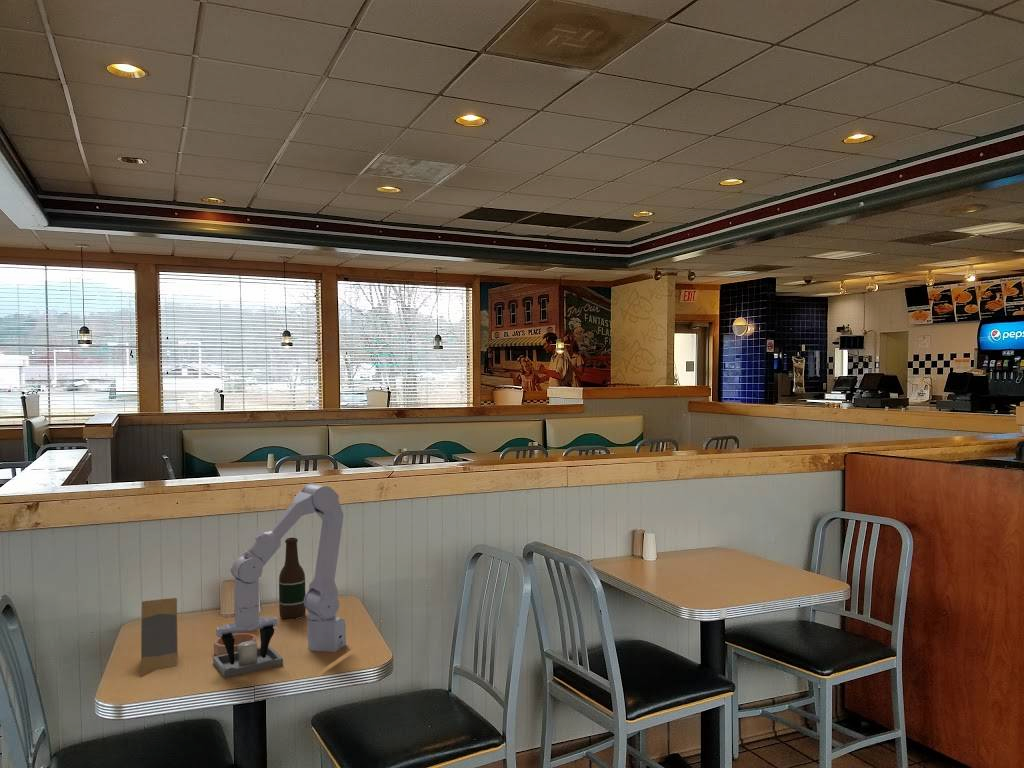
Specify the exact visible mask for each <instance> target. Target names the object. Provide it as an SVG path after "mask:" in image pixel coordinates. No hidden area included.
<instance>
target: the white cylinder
mask: <svg viewBox="0 0 1024 768" xmlns="http://www.w3.org/2000/svg"><path fill="white" fill-rule="evenodd" d="M257 648H258V641H257V642H255V641H246V642H242V643H240V644H238V666H239V667H240V666H245V665H250V664H255V663H257Z"/></svg>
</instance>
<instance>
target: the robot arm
mask: <svg viewBox="0 0 1024 768" xmlns="http://www.w3.org/2000/svg"><path fill="white" fill-rule="evenodd" d="M339 497H340V495H339V494H338V493H337V492H336V490H334V489H333V488H332V487H330V486H328V485H320V484H317V483H312V482H311V483H308V484H306V485H305V486H304V487H302V489H301V491H299V492H298V493H297V494H295V496H294V499H293V501H292V502H291V503H290V504H289V506H288V507H287V509H286V510H285V511H284V512H283V514H281V516H280V518H278V520H277V522H276V523H275V524H274V525H273V527H272V528H271V529H270V530H269V531H264V532H262V533H260V534H257V535H256V537H255V541H254V542H253V544H252V545H251V546H250V547H249V548H248V549H247V550H244V552H242V556H240V557H238V558H237V559H235V560H234V562H233V563H232V567H231V568H230V574H231V575H232V577H234V622H233V623H232V622H231V623H229V624H225V625H222V626H217V627H215V635H216V637H217V638H220V637H221V639H222V641H223V643H224V645H225V647H226V650H227V653H228V657H229V663H230V664H231V665H232V664H234V642H235V639H234V638H233V635H232V634H237V633H246V632H250V631H254V630H255V631H256V630H259V634H260V635H259V636H260V647H261V656H262V657H263V658H266V653H267V648H268V646H270V642H271V639H272V637H273V636H274V634H275V628H276V627H278V617H276V616H273V617H266V618H265V617H263V618H260V595H259V593H260V592H259V591H260V589H259V588H260V587H259V586H260V585H259V579H260V577H262V574H263V569H264V567H265V566H266V564H267V563H268V562H269V561H270V560H271V558H273V556H274V555H275V554H276V552H278V550H279V549H280V547H281V546H282V545H281V542H282V541H281V539H282V538H283V537H284V536H285V535H286V534H287V533H288V532H289V530H290V529H291V528H292V527H293V526H294V525H295V524H296V523H297V522H298V521H299V519H301V518H302V517H303V516H305V515H310V514H314V513H316V514H317V516H318V517H320V519H321V520H322V522H321V528H320V537H319V541H318V542H319V543H318V547H317V548H318V550H317V556H316V562H315V570H314V577H313V579H312V580H311V582H310V583H309V586H308V590H307V592H306V593H305V597H304V606H305V608H306V610H307V613H308V614H307V649H308V650H310V651H312V652H332V653H335V652H337V651H339V650H340V649H341V648H343V647H344V646H346V645H347V635H346V633H347V630H346V629H347V627H346V625H347V624H346V620H345V619H344V618H343V617H339V616H337V613H338V612H339V609H340V601H339V598H338V593H339V590H338V587H337V585H336V582H335V579H336V573H337V565H338V557H339V549H340V544H341V543H340V542H341V538H342V537H341V536H342V530H343V529H342V528H343V522H344V511H343V509H342V506H341V503H340V501H339Z"/></svg>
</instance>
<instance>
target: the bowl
mask: <svg viewBox="0 0 1024 768" xmlns="http://www.w3.org/2000/svg"><path fill="white" fill-rule="evenodd" d="M232 635H233V638H234V639H235V642H234V652H238V644H240V643H242V642H246V641H255V642H257V643H258V639H257V638H258V637H257V635H256V634H253V633H247V632H240V633H234V634H232ZM224 654H228V653H227V650H226V647H225V645H224V643H223V641H222V639H221V637H217V638H216V639H214V641H213V655H215V656H219V655H224Z"/></svg>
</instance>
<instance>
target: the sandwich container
mask: <svg viewBox="0 0 1024 768" xmlns="http://www.w3.org/2000/svg"><path fill="white" fill-rule="evenodd" d="M140 628H141V629H140V634H141V636H140V639H141V641H140V644H141V645H140V648H141V650H140V652H141V653H140V654H141V656H140V661H141V662H140V677H141V676H143V677H145V676H147V675H149V674H150V673H153V672H155V671H157V670H164V669H168V668H169V669H170V668H175V667H177V666H178V661H179V660H178V658H179V657H178V655H179V653H178V652H179V650H178V649H179V648H178V646H179V645H178V643H179V642H178V598H177V597H171V598H159V599H153V600H152V599H151V600H144V601H143V600H142V602H141V625H140Z"/></svg>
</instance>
